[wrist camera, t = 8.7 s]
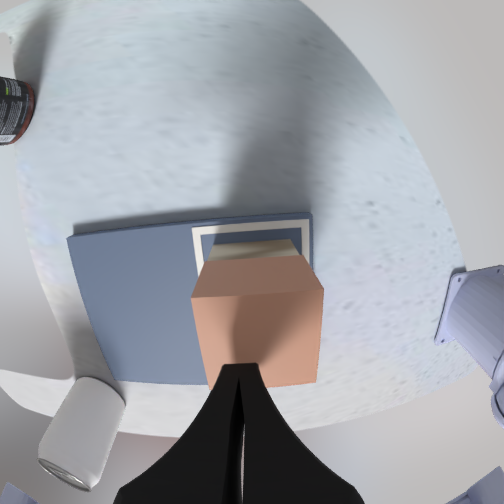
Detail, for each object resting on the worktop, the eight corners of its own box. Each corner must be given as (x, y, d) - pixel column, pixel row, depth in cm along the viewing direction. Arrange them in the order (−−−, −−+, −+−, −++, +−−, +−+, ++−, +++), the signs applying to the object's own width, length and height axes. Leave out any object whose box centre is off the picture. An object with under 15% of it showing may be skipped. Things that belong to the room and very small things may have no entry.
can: (135, 415, 25) (108, 500, 13) (93, 411, 25) (60, 483, 13) (110, 375, 23) (66, 467, 11) (67, 373, 23) (20, 448, 11)
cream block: (290, 239, 18) (302, 259, 14) (291, 306, 19) (301, 339, 15) (213, 244, 18) (204, 267, 14) (221, 311, 19) (216, 345, 15)
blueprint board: (308, 212, 18) (312, 215, 17) (305, 370, 23) (307, 378, 22) (73, 234, 18) (65, 238, 17) (118, 373, 23) (114, 380, 21)
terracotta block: (303, 254, 14) (324, 288, 10) (301, 335, 15) (315, 382, 12) (204, 261, 14) (190, 297, 10) (216, 341, 15) (209, 389, 12)
